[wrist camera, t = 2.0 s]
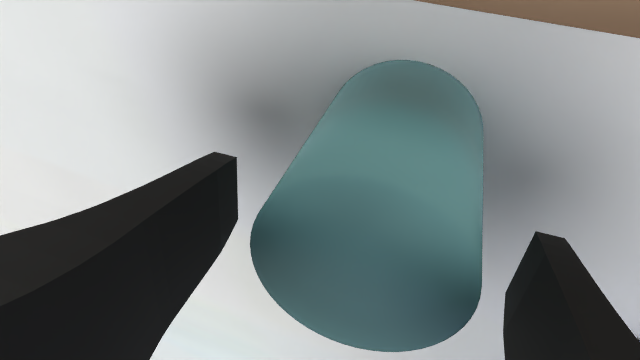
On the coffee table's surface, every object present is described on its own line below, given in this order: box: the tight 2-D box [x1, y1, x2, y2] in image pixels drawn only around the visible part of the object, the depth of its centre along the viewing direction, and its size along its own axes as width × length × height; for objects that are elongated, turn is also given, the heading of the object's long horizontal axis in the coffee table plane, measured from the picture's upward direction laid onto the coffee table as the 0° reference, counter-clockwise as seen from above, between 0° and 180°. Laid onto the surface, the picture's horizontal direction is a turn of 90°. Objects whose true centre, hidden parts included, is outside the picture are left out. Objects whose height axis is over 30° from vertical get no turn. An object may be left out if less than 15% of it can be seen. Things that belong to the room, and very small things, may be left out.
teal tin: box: [250, 60, 483, 352], centre depth 12 cm, size 5×5×6 cm
